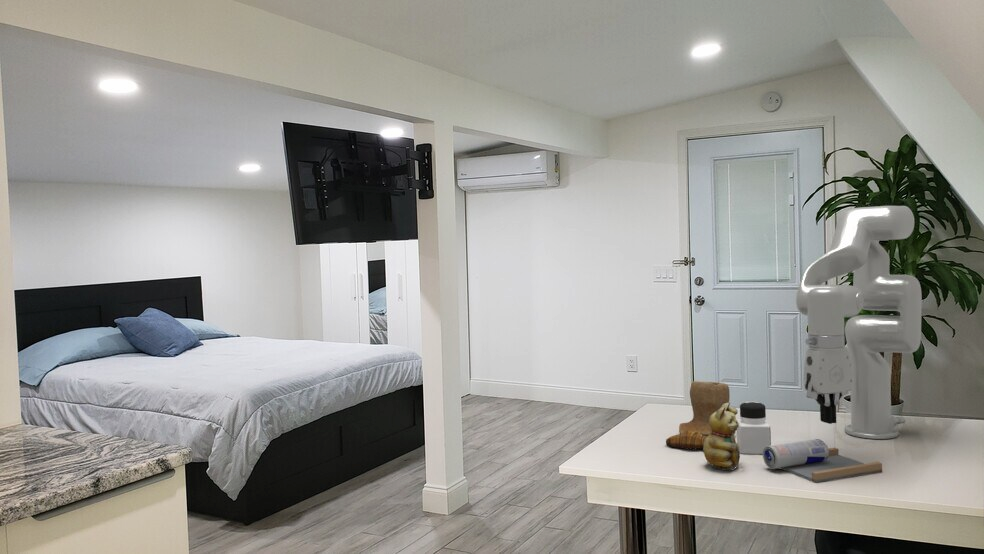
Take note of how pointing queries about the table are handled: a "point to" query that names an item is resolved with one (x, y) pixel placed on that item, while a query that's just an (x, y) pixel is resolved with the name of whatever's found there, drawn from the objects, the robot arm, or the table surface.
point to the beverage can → (795, 453)
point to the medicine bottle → (753, 428)
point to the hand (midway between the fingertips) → (828, 422)
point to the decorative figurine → (722, 439)
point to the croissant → (687, 440)
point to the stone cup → (705, 405)
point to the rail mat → (834, 468)
